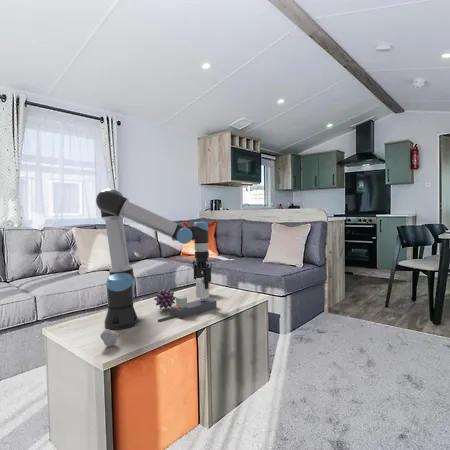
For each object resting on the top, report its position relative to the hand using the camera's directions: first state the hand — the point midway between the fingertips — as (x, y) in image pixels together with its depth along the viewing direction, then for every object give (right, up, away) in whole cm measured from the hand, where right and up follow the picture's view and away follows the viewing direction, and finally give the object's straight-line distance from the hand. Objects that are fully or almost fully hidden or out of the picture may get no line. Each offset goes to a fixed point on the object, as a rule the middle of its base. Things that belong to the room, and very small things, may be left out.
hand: (202, 293), depth 182 cm
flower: (-20, -9, +1) cm, 22 cm away
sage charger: (-10, -5, -9) cm, 14 cm away
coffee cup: (-1, -7, +29) cm, 30 cm away
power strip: (-8, -9, -7) cm, 14 cm away
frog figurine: (-34, -12, -46) cm, 59 cm away
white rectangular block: (0, -3, 0) cm, 3 cm away
